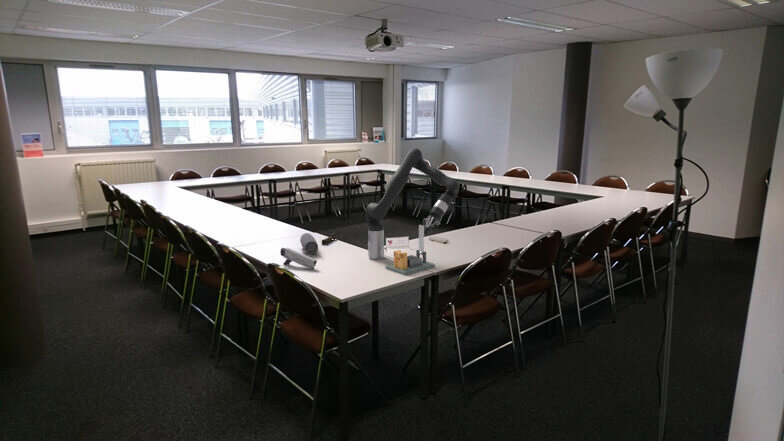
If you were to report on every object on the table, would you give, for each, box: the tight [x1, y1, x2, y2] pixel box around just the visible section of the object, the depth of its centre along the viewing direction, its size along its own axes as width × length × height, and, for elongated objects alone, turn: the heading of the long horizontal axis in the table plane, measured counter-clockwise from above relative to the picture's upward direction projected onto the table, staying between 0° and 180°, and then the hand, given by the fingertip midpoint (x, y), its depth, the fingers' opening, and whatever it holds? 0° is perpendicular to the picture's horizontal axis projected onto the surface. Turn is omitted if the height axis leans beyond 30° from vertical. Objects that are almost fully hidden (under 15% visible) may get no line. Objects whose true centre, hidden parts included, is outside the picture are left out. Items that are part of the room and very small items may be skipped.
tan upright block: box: [393, 249, 408, 270], centre depth 254 cm, size 4×7×9 cm, turn 41°
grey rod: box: [418, 224, 425, 256], centre depth 263 cm, size 2×3×17 cm, turn 41°
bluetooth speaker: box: [299, 233, 319, 255], centre depth 294 cm, size 23×9×10 cm, turn 18°
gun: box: [279, 247, 318, 270], centre depth 263 cm, size 2×25×10 cm, turn 62°
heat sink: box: [407, 254, 423, 268], centre depth 260 cm, size 9×9×4 cm
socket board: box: [385, 249, 436, 276], centre depth 259 cm, size 23×16×8 cm
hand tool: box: [321, 232, 337, 246], centre depth 319 cm, size 19×4×5 cm, turn 160°
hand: (423, 233), depth 263 cm, fingers closed
